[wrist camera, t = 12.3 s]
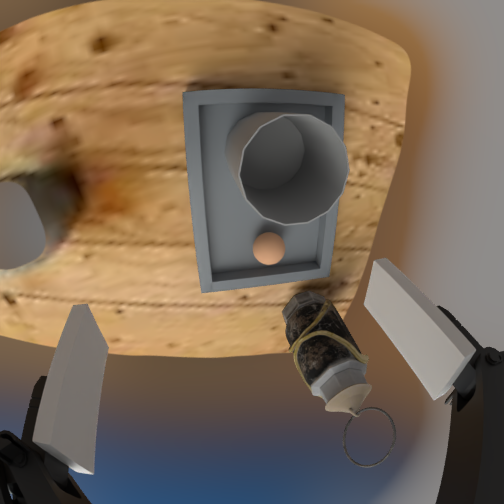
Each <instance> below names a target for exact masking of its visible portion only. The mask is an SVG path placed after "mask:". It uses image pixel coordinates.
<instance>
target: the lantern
mask: <svg viewBox="0 0 504 504" xmlns="http://www.w3.org/2000/svg"><path fill="white" fill-rule="evenodd" d="M282 313H283V317H284V320H285V323H286V325H287V326H286V337H287V340H288V342H289V344H290V347H289V352H293V353H294V362H295V364H296V367H297V369H298V371H299V373H300V375H301V377H302V378H303V380H304V382H305V384H306V385H307V386H308V388H309V389H310V390H311V391H312V394H313V395H316V396H319V397H321V398H323V399H324V401H325V402H326V407H325V409H326V410H327V411H332V412H336V411H342V412H349V413H352V414H353V416H352V417H351V419H350V420H349V422H348V424H347V425H346V428H345V430H344V435H343V447H344V451H345V453H346V455H347V457H348V458H349V460H350V461H351V462H353V463H354V464H356V465H358V466H361V467H373V466H376V465H378V464H380V463H381V462H383V461H384V460H385V459H386V458H387V457H388V456H389V454H390V453H391V451H392V449H393V447H394V444H395V440H396V429H395V425H394V422H393V420H392V419H391V417H390V416H389V415H388V414H387V413H386V412H385V411H383V410H382V409H379V408H375V407H369V408H365V409H362V410H360V409H359V408H360V406H361V404H362V402H363V400H364V399H365V397H366V396H367V395H368V394H369V392H370V390H371V389H372V386H371V385H369V384H367V382H366V379H365V377H364V375H365V373H366V368H367V361H368V360H369V359H368V356H367V355H362V354H361V352H360V350H359V348H358V346H357V344H356V343H355V341H354V339H353V338H352V336H351V334H350V332H349V331H348V329H347V327H346V325H345V324H344V322H343V320H342V318H341V316H340V315H339V313H338V311H337V310H336V308H335V307H334V305H333V304H332V303H331V302H330V301H329V300H325V298H324V296H321V295H319V294H316V293H314V292H311V291H307V292H304V293H301V294H298V295H295V296H293V298H292V299H291V300H290V302H289V303H288V304H287V306H286V307H285V308H284V310H283V311H282ZM371 409H373V410H378V411H381V412H382V413H384V414H385V415H386V416H387V417H388V418H389V420H390V422H391V424H392V427H393V431H394V432H393V433H394V434H393V435H394V436H393V443H392V446H391V449H390V450H389V452H388V454H387V455H386V456H385V457H384V458H383V459H382V460H381V461H379V462H377V463H375V464H372V465H361V464H359V463H356V462H355V461H354V460H353V459H352V458H351V457H350V456H349V454H348V452H347V449H346V445H345V436H346V431H347V428H348V426H349V424H350V422H351V421H352V420H353V418H354V417H355V416H356V417H358V416H359V415H360V412H363V411H365V410H371ZM357 411H358V412H357ZM355 412H357V413H356V414H355Z"/></svg>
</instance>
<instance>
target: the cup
mask: <svg viewBox="0 0 504 504" xmlns="http://www.w3.org/2000/svg"><path fill="white" fill-rule="evenodd" d="M224 155H225V158H226V161H227V164H228V168H229V171H230V173H231V174H232V176H233V178H234V180H235V182H236V184H237V186H238V187H239V189H240V191H241V193H242V195H243V197H244V199H245V200H246V202H247V203H248V204H249V205H250V206H251V207H252V208H253V209H254V210H255V211H256V212H257V213H258V214H259V215H260V216H261V217H262V218H264V219H267V220H269V221H272V222H275V223H278V224H281V225H284V226H288V225H297V224H307V223H310V222H311V221H313V220H315V219H317V218H319V217H320V216H322V215H324V214H326V213H327V212H329V211H330V209H331V208H332V207H333V206H334V204H335V203H336V202H337V200H338V199H339V198H340V197H341V195H342V194H343V192H344V189H345V185H346V181H347V178H348V174H349V163H348V156H347V150H346V146H345V144H344V143H343V141H342V140H341V138H340V137H339V135H338V134H337V133H336V131H335V130H334V128H333V127H332V126H330V125H329V124H327V123H325V122H323V121H321V120H320V119H318V118H316V117H314V116H312V115H309V114H298V113H283V112H254V113H252V114H251V115H249V116H247V117H245V118H243V119H241V120H239V121H238V122H237V123H236V125H235V126H234V127H233V129H232V130H231V131H230V133H229V134H228V135H227V140H226V146H225V152H224Z"/></svg>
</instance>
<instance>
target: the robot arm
mask: <svg viewBox="0 0 504 504" xmlns="http://www.w3.org/2000/svg"><path fill="white" fill-rule="evenodd" d="M364 306H365V307H366V308H367V309H368V311H369V312H370V313H371V314H372V316H373V317H374V318H375V320H376V321H377V322H378V323H379V325H380V326H381V327H382V329H383V330H384V331H385V333H386V334H387V335H388V337H389V338H390V339H391V341H392V342H393V343H394V345H395V346H396V348H397V349H398V350H399V351H400V353H401V354H402V356H403V357H404V358H405V360H406V361H407V363H408V364H409V365H410V367H411V368H412V370H413V371H414V372H415V374H416V375H417V377H418V378H419V379H420V381H421V382H422V384H423V385H424V387H425V388H426V390H427V391H428V392H429V394H430V395H431V397H432V398H433V400H435V399H437V398H439V397H440V396H442V395H444V394H445V393H446V392H447V391H448V390H449V388H450V387H451V386H452V384H453V386H454V387H455V389H454V390H453V392H452V393H451V394H450V395H449V397H448V398H447V399H446V401H445V404H447V403H448V402H449V401H450V400H451V399H452V401H451V403H450V405H452V411H451V423H450V433H449V441H448V448H447V455H446V460H445V466H444V471H443V476H442V480H441V485H440V489H439V493H438V497H437V501H436V504H504V351H502V352H499V351H497V350H496V349H494V348H492V347H486V348H483V347H482V346H480V345H479V343H478V342H477V341H476V340H475V339H474V338H473V337H472V335H470V333H469V332H468V331H467V330H466V329H465V328H464V327H463V326H461V324H460V323H459V321H458V320H456V318H455V317H454V316H453V315H452V314H451V313H450V312H449V311H448V310H446V309H444V308H443V307H441V306H436V305H435V304H433V302H432V301H431V300H430V299H429V298H428V297H427V296H426V295H425V294H424V293H422V291H421V290H420V289H419V288H418V287H417V286H416V285H415V284H413V283H412V282H411V281H410V280H409V279H408V278H407V277H406V276H405V275H404V274H403V273H402V272H401V271H400V270H399V269H398V268H397V267H396V266H395V265H393V264H392V263H391V262H390V261H389V260H388V259H387V258H383V259H378V260H374V262H373V268H372V273H371V277H370V281H369V285H368V290H367V294H366V298H365V302H364ZM108 348H109V347H108V345H107V343H106V341H105V339H104V337H103V335H102V333H101V331H100V329H99V327H98V325H97V323H96V321H95V319H94V317H93V315H92V313H91V311H90V308H89V306H88V304H80V305H73V307H72V309H71V312H70V314H69V317H68V319H67V322H66V324H65V327H64V329H63V332H62V335H61V337H60V340H59V343H58V346H57V349H56V351H55V355H54V357H53V360H52V364H51V367H50V370H49V373H48V376H41V377H40V379H39V380H38V381H37V383H36V384H35V386H34V389H33V393H32V396H31V397H32V399H31V400H30V403H29V408H28V411H27V415H26V420H25V424H24V429H23V433H22V438H21V440H20V439H19V438H18V437H17V436H15V435H14V434H13V433H11V432H10V431H6V430H3V431H1V432H0V504H91V502H90V501H89V500H88V499H87V497H86V496H85V495H84V493H83V492H82V490H81V489H80V487H79V486H78V485H77V483H76V482H75V480H74V479H73V477H72V476H71V475H70V474H69V473H68V468H69V467H70V468H71V469H73V470H75V471H76V472H80V473H87V474H94V459H95V443H96V430H97V420H98V411H99V403H100V396H101V388H102V381H103V376H104V369H105V364H106V359H107V353H108ZM10 493H12V495H13V500H12V499H11V496H10Z"/></svg>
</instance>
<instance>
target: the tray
mask: <svg viewBox="0 0 504 504" xmlns="http://www.w3.org/2000/svg"><path fill="white" fill-rule="evenodd" d="M344 105H345V95H343V94H335V93H326V92H316V91H304V90H288V89H218V90H202V91H190V92H183V114H184V132H185V147H186V160H187V173H188V184H189V195H190V205H191V215H192V224H193V232H194V241H195V249H196V257H197V264H198V272H199V279H200V286H201V293H208V292H217V291H225V290H234V289H242V288H250V287H258V286H266V285H274V284H281V283H289V282H296V281H303V280H310V279H317V278H324V277H329V274H330V268H331V261H332V254H333V247H334V239H335V231H336V222H337V213H338V204H339V199H338V200H337V202H336V203H335V204H334V206H333V207H332V208H331V209H330V211H329V212H327V213H326V214H324V215H322V216H320V217H319V218H317V219H315V220H313V221H311V222H310V223H307V224H297V225H288V226H284V225H281V224H278V223H275V222H272V221H269V220H267V219H264V218H262V217H261V216H260V215H259V214H258V213H257V212H256V211H255V210H254V209H253V208H252V207H251V206H250V205H249V204H248V203H247V202H246V200H245V199H244V197H243V195H242V193H241V191H240V189H239V187H238V186H237V184H236V182H235V180H234V178H233V176H232V174H231V173H230V171H229V168H228V164H227V161H226V158H225V155H224V152H225V146H226V140H227V135H228V134H229V133H230V131H231V130H232V129H233V127H234V126H235V125H236V123H237V122H238V121H239V120H241V119H243V118H245V117H247V116H249V115H251V114H252V113H254V112H283V113H298V114H309V115H312V116H314V117H316V118H318V119H320V120H321V121H323V122H325V123H327V124H329V125H330V126H332V127H333V128H334V130H335V131H336V133H337V134H338V135H339V137H340V138H341V140H342V141H343V135H344ZM266 232H272V233H275V234H277V235H279V236H280V237H281V238H282V239H283V241H284V244H285V253H284V256H283V258H282V259H281V260H280V261H279V262H277V263H275V264H272V265H266V264H263V263H261V262H259V261H258V260H257V259H256V258H255V256H254V253H253V244H254V241H255V239H256V238H257V237H258V236H259V235H261V234H263V233H266Z"/></svg>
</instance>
